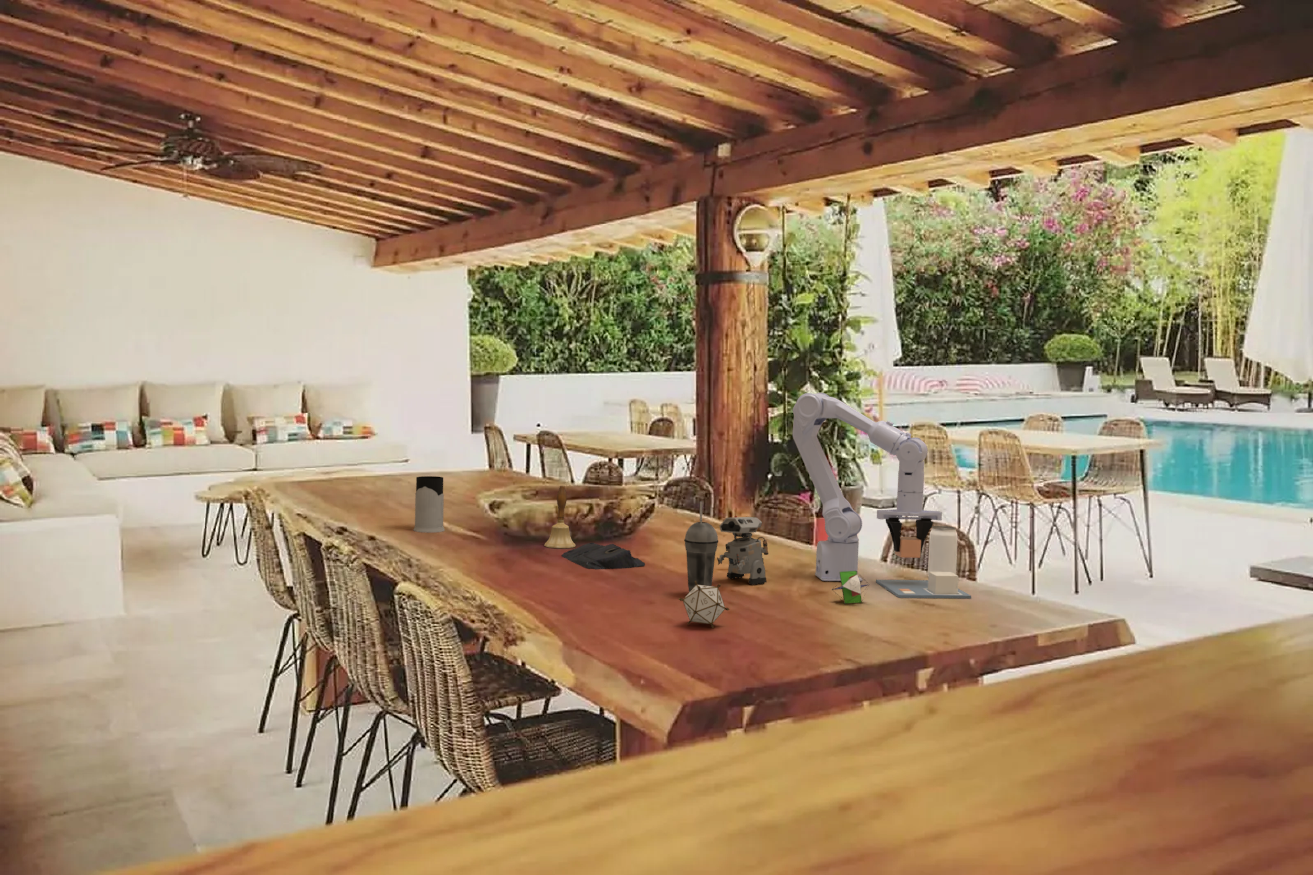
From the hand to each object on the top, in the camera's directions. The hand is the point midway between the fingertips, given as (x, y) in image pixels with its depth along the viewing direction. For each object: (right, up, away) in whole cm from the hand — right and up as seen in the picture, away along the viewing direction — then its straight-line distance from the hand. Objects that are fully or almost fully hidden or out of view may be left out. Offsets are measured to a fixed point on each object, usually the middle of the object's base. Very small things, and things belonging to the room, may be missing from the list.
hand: (907, 551), depth 266 cm
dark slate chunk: (-70, -5, +22) cm, 74 cm away
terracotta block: (0, -1, 0) cm, 1 cm away
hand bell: (-82, -3, +44) cm, 93 cm away
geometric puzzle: (-16, -9, -20) cm, 27 cm away
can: (+11, -8, +12) cm, 18 cm away
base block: (+6, -8, -9) cm, 13 cm away
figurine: (-38, -7, -1) cm, 39 cm away
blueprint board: (+2, -8, -4) cm, 10 cm away
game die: (-48, -10, -46) cm, 67 cm away
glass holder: (-121, -1, +68) cm, 139 cm away
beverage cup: (-48, -8, -17) cm, 51 cm away
